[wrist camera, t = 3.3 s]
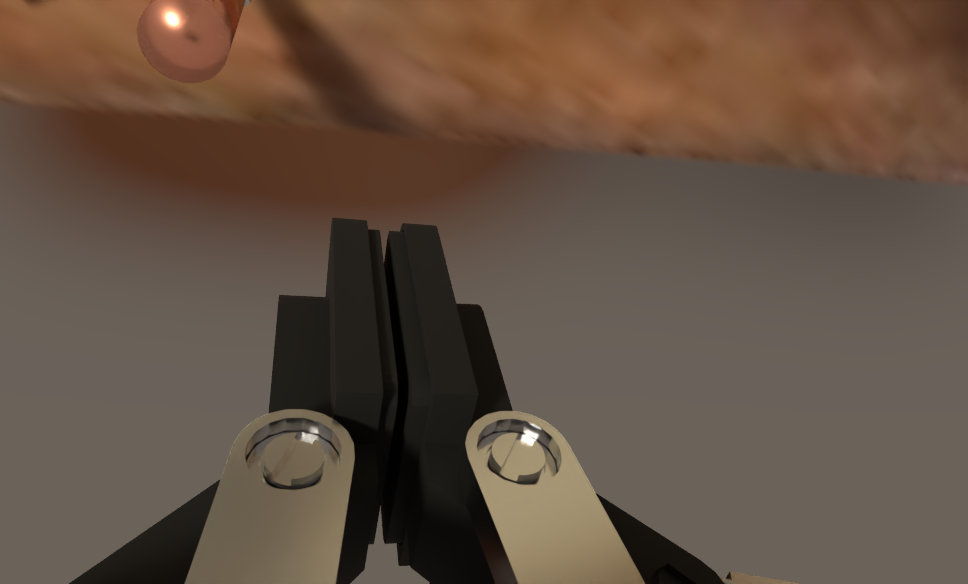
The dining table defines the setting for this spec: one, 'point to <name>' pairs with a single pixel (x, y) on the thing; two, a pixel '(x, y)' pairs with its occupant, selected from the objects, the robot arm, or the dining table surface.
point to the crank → (189, 36)
